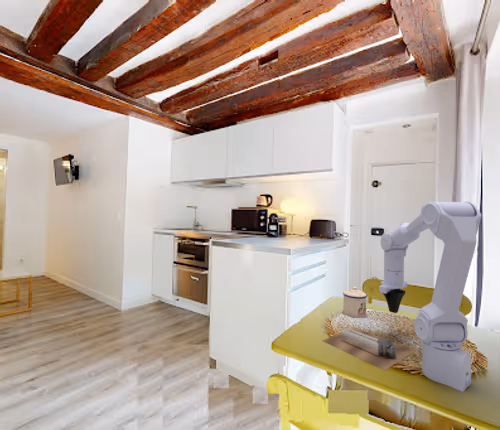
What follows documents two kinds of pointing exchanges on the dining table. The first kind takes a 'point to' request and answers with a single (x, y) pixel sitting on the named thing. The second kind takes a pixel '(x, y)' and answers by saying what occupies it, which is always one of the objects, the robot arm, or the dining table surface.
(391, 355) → the bar
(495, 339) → the dining table surface
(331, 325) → the dining table surface
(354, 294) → the teacup with lid
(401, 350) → the walnut board
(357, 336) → the arm
